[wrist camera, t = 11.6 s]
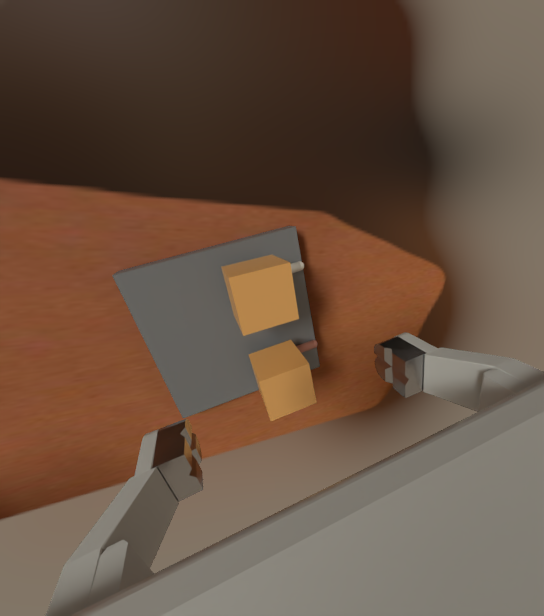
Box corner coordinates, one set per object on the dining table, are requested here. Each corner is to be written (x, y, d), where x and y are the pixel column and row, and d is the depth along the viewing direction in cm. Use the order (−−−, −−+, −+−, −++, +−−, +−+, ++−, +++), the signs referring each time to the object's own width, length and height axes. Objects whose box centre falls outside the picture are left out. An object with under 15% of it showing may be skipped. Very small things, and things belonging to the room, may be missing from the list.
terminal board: (183, 406, 32) (179, 471, 24) (118, 270, 24) (81, 297, 16) (313, 358, 35) (348, 401, 27) (289, 225, 28) (326, 230, 20)
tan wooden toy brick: (221, 266, 23) (228, 277, 19) (271, 254, 24) (290, 262, 20) (233, 315, 25) (243, 335, 21) (280, 301, 26) (299, 318, 22)
